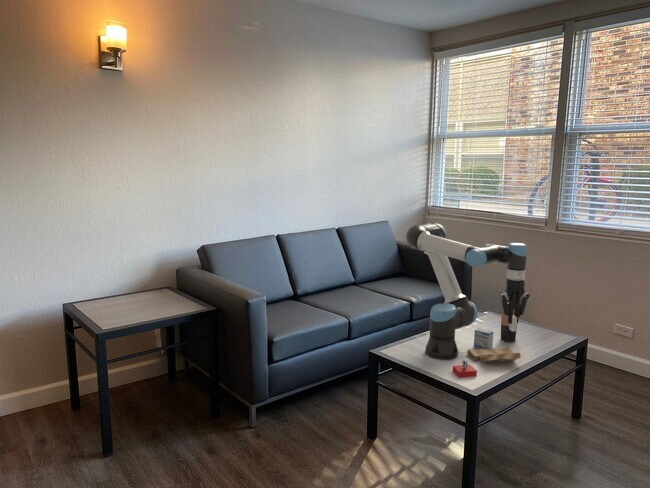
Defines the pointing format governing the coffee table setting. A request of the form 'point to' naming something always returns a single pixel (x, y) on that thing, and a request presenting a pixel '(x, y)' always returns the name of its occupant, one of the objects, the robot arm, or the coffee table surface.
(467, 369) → the red rectangular block
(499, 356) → the plank
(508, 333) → the travel mug
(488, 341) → the medicine box
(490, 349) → the laid strip
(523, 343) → the coffee table surface
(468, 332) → the coffee table surface
